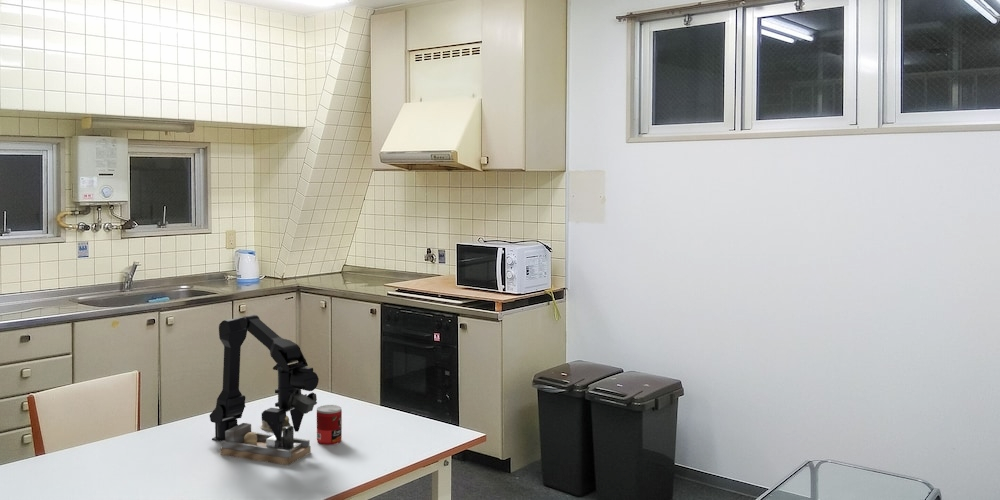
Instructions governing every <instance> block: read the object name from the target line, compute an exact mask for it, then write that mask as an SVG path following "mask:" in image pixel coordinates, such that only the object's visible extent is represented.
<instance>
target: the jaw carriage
mask: <svg viewBox="0 0 1000 500" xmlns="http://www.w3.org/2000/svg"><path fill="white" fill-rule="evenodd" d="M294 432H295V430H294V427H293V426H292V425H290V426H284V427H283V430H282V437H281V441H277V439H276V437H275V435H274V434H272V435H273V436H271V437H269V438H267V439H266V447H270V448H277V449H284V450H290V451H291V452H293V451H294V450H296V449H298V448H300V447H301V443H295V442H294V438H295V437H294Z"/></svg>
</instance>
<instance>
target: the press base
mask: <svg viewBox="0 0 1000 500" xmlns="http://www.w3.org/2000/svg"><path fill="white" fill-rule="evenodd" d="M249 432H252V423H247V422H242V423H240V424H238V425H237V426H235V427H233V428H231V429H229V430H227V431H225V441H221V448H220V456H227V457H231V458H232V457H233V458H237V459H238V458H240V459H243V460H244V459H245V460H250V461H251V460H252V461H258V462H265V463H269V464H276V465H283V466H289V465H292V464H294V463H295V462H297V461H299V460H301V458H303V457H305V456H307V455H308V454H311V451H312V449H311V444H310V443H311V442H310V439H306V438H305V439H304V438H297V437H294V442H295V443H301V447H300V448H298V449H296V450H294V451H293V452H291V451H290V450H284V449H277V448H270V447H266V439H267V438H269V437H271V436H273V435H274V434H268V433H262V432H261V433H260V432H254V431H253V432H254V433H255V434H256V435H257V445H250V444H245V442H244V436H245V435H246V434H247V433H249Z"/></svg>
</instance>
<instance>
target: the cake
mask: <svg viewBox="0 0 1000 500" xmlns="http://www.w3.org/2000/svg"><path fill="white" fill-rule="evenodd" d="M285 420H286V421H285V422H284V423H283V426H282V431H283V427H284V426H291V423H290V418H289V416H288V415H287V414H286V418H285ZM261 423H262V424H261V425H260V427H259V428H260V429H261V430H264V431H268V432H273V431H272V430H271V428H270V426H269V425H268V423H267V422H265V421H264V420H262V419H261Z"/></svg>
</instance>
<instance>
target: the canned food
mask: <svg viewBox="0 0 1000 500" xmlns="http://www.w3.org/2000/svg"><path fill="white" fill-rule="evenodd" d="M342 413H343V411H342V407H341V406H339V405H336V404H325V405H320V406H317V408H316V440H317V443H319V445H323V446H331V445H332V446H334V445H337V444H340V443H341V442H342V439H343V438H342V435H343V434H342V428H343V427H342V425H343V424H342V422H343V421H342V420H343V419H342Z"/></svg>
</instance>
